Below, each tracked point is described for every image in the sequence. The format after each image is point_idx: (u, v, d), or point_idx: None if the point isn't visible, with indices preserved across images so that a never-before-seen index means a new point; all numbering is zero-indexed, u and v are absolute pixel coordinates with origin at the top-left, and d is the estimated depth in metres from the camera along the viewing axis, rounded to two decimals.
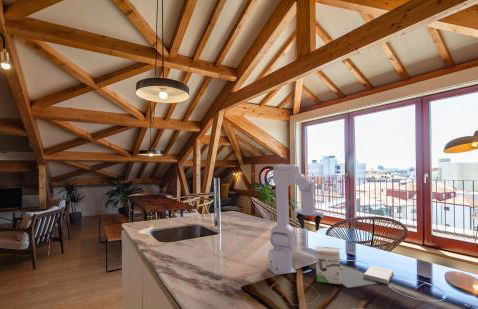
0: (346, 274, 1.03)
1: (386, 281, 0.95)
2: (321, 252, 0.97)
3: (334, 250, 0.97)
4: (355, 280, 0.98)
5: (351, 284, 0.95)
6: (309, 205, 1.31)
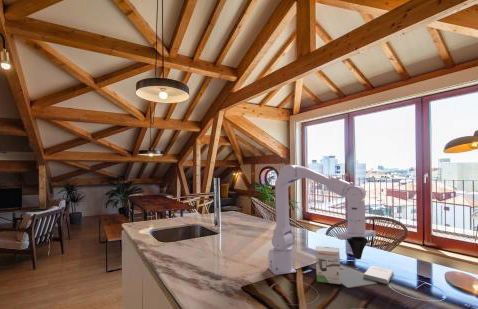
0: (346, 274, 1.03)
1: (386, 281, 0.95)
2: (321, 252, 0.97)
3: (334, 250, 0.97)
4: (355, 280, 0.98)
5: (351, 284, 0.95)
6: None
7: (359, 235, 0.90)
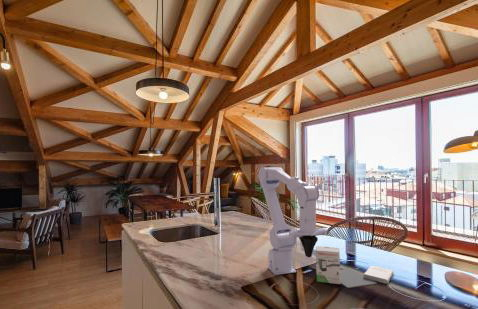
0: (346, 274, 1.03)
1: (386, 281, 0.95)
2: (321, 252, 0.97)
3: (334, 250, 0.97)
4: (355, 280, 0.98)
5: (351, 284, 0.95)
6: None
7: (309, 234, 0.92)
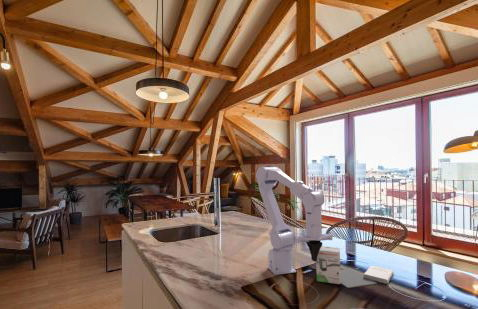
0: (346, 274, 1.03)
1: (386, 281, 0.95)
2: (321, 252, 0.97)
3: (335, 250, 0.97)
4: (355, 280, 0.98)
5: (351, 284, 0.95)
6: None
7: (315, 239, 0.94)
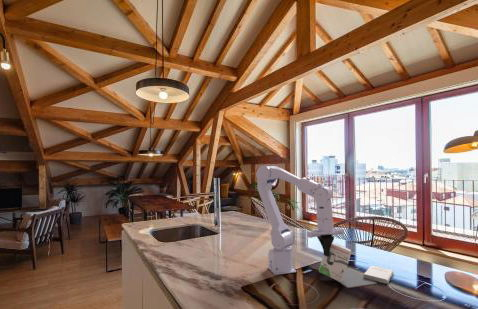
0: (346, 274, 1.03)
1: (386, 281, 0.95)
2: (334, 246, 0.97)
3: (347, 249, 0.97)
4: (355, 280, 0.98)
5: (351, 284, 0.95)
6: None
7: (327, 233, 0.95)
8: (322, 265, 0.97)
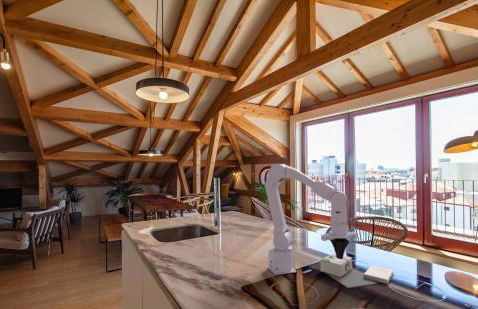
0: (346, 274, 1.03)
1: (386, 281, 0.95)
2: None
3: None
4: (355, 280, 0.98)
5: (351, 284, 0.95)
6: None
7: (341, 237, 0.97)
8: (324, 258, 1.08)
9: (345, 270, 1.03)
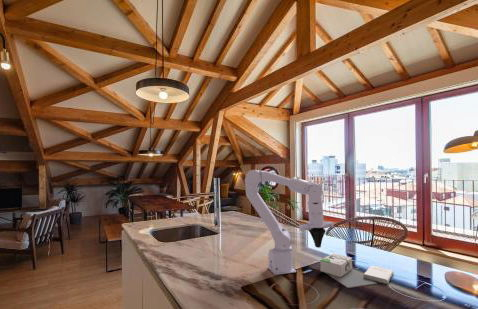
0: (346, 274, 1.03)
1: (386, 281, 0.95)
2: (336, 254, 1.12)
3: None
4: (355, 280, 0.98)
5: (351, 284, 0.95)
6: None
7: (317, 226, 1.03)
8: (324, 258, 1.07)
9: (345, 270, 1.03)
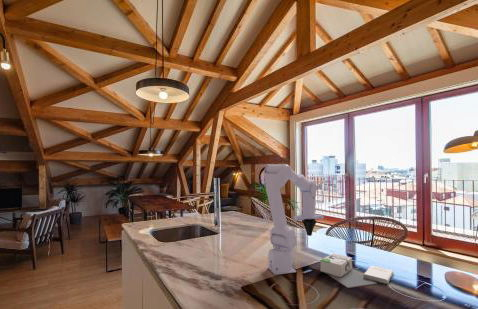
0: (346, 274, 1.03)
1: (386, 281, 0.95)
2: (336, 254, 1.12)
3: None
4: (355, 280, 0.98)
5: (351, 284, 0.95)
6: None
7: (309, 217, 1.21)
8: (324, 258, 1.07)
9: (345, 270, 1.03)
